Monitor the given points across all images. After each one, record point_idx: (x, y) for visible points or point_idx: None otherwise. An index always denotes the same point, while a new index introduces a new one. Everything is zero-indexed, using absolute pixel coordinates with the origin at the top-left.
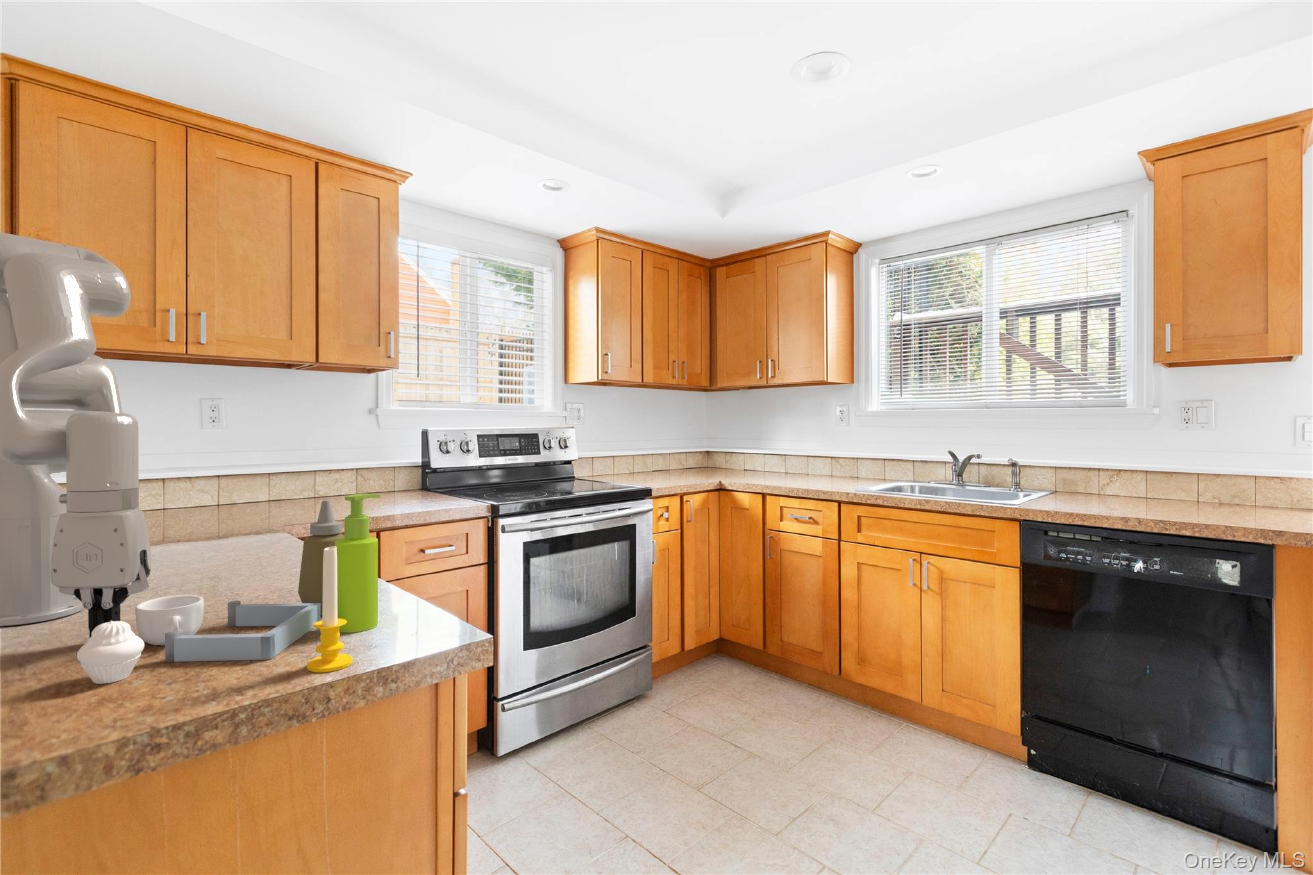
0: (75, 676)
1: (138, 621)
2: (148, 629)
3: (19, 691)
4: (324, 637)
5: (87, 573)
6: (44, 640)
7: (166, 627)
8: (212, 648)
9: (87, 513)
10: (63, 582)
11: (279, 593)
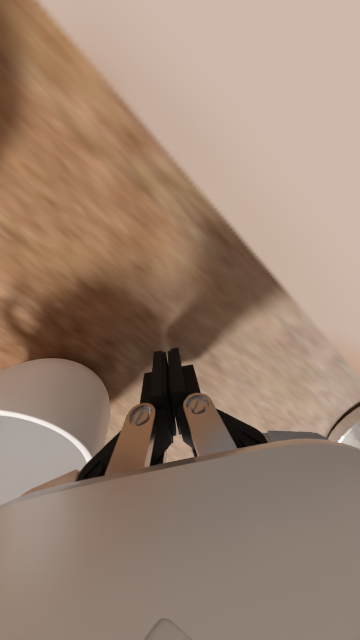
0: (24, 173)
1: (45, 382)
2: (28, 369)
3: (45, 36)
4: None
5: (168, 619)
6: (283, 355)
7: None
8: None
9: None
10: (312, 472)
11: None
